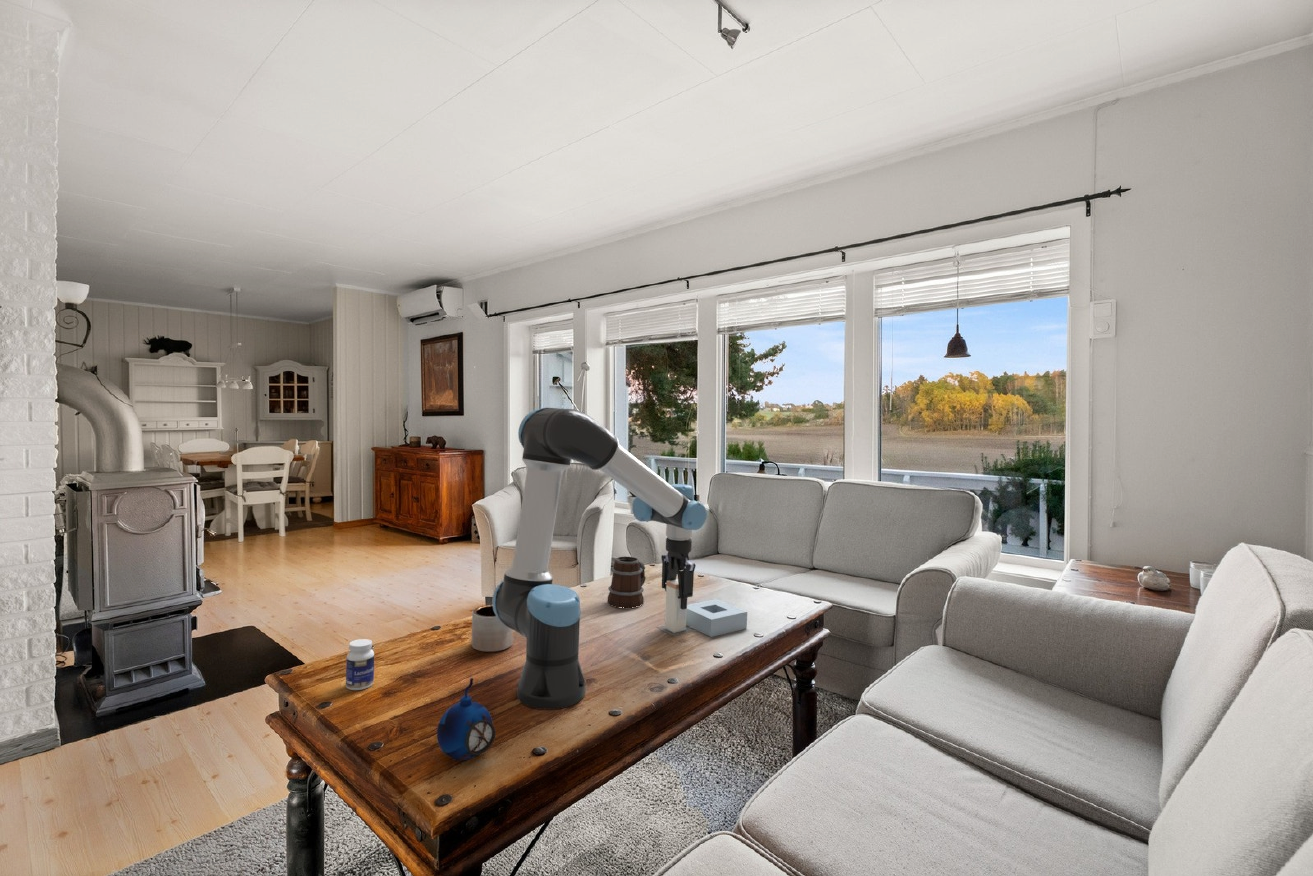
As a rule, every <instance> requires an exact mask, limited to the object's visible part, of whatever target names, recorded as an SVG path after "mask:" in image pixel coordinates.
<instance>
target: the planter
mask: <svg viewBox="0 0 1313 876" xmlns="http://www.w3.org/2000/svg"><path fill="white" fill-rule="evenodd" d="M471 613H472V614H471V615H472V618H471V621H472V622H471V642H470V643H471V647H472V649H474V650H476V651H477V652H480V653H497V652H502V651H505V650H507V649H509V648H511V646H512V645H513V643H514V630H513V629H511V628H509V627H507V626H505V625H504V624H503V623H502V622H501V621H500V620H499V619H498V618H497V616H496V615H495V613H494V610H493V605H492V604H485V605H482V606H478V607H476V608H474V609H473V610H472V612H471Z"/></svg>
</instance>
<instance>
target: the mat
mask: <svg viewBox="0 0 1313 876" xmlns="http://www.w3.org/2000/svg"><path fill="white" fill-rule="evenodd" d="M656 629H659V630H661V631H662V632H664V633H666V634H667V635H670V636H672V637H674V636H675V637H676V636H680V635H684V634H688V633H692V632H695V629H693V628H691V627H690V628H689V626H686V630H684V631H679V632H675V633H673V632H671V631H669V630H668V629H666V628H665V625H662V626H656Z"/></svg>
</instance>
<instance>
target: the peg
mask: <svg viewBox="0 0 1313 876" xmlns="http://www.w3.org/2000/svg"><path fill="white" fill-rule="evenodd" d="M665 584H666V591H665V610H664V611H665V614H664V616H665V617H664V626H665V628H666V629H668V630H669V631H671V632H673V633H675V632H679V631H684V630H686V627H687V625H686V619H683V620H677V599H678V596H679V584H678V578H676V580H670V581H667V582H666V583H665ZM683 594H684V593H683ZM686 614H687V608H686Z"/></svg>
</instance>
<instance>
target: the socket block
mask: <svg viewBox="0 0 1313 876" xmlns="http://www.w3.org/2000/svg"><path fill="white" fill-rule="evenodd" d="M747 626H748V611H747V610H744V609H742V608H740V607H737V606H734V605H732V604H729V603H727V602H725V601H722V600H720V599H716V598H715V599H710V600H704V601H700V602H695V603H689V604H687V614H686V627H688V628H689V627H690V629H692V630H694V631H695V630H696V631H697V632H700V633H702V634H704V635H706V636H708V637H710V638H711V637H712V638H713V637H716V636H721V635H725V634H730V633H734V632H738V631H742V630H746V628H747V629H748V627H747Z"/></svg>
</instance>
